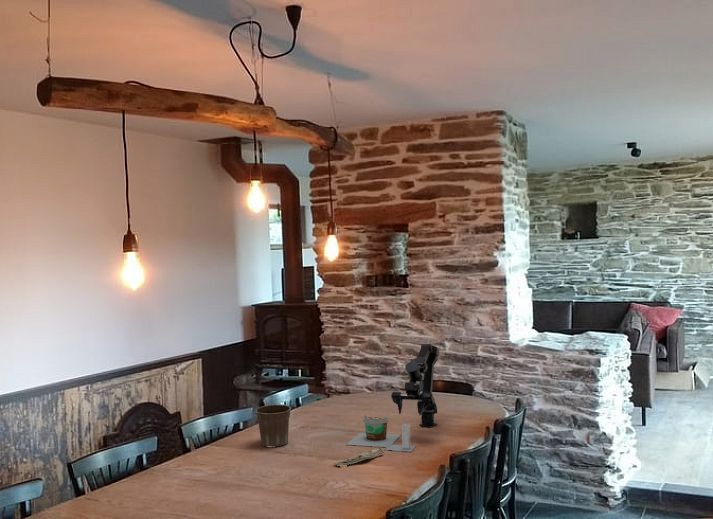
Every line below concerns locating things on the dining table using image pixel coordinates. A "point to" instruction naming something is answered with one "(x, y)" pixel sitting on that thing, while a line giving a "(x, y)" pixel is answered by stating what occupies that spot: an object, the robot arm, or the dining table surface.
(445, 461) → the dining table surface
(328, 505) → the dining table surface
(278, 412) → the plant pot
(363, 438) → the pull board
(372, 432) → the food container
